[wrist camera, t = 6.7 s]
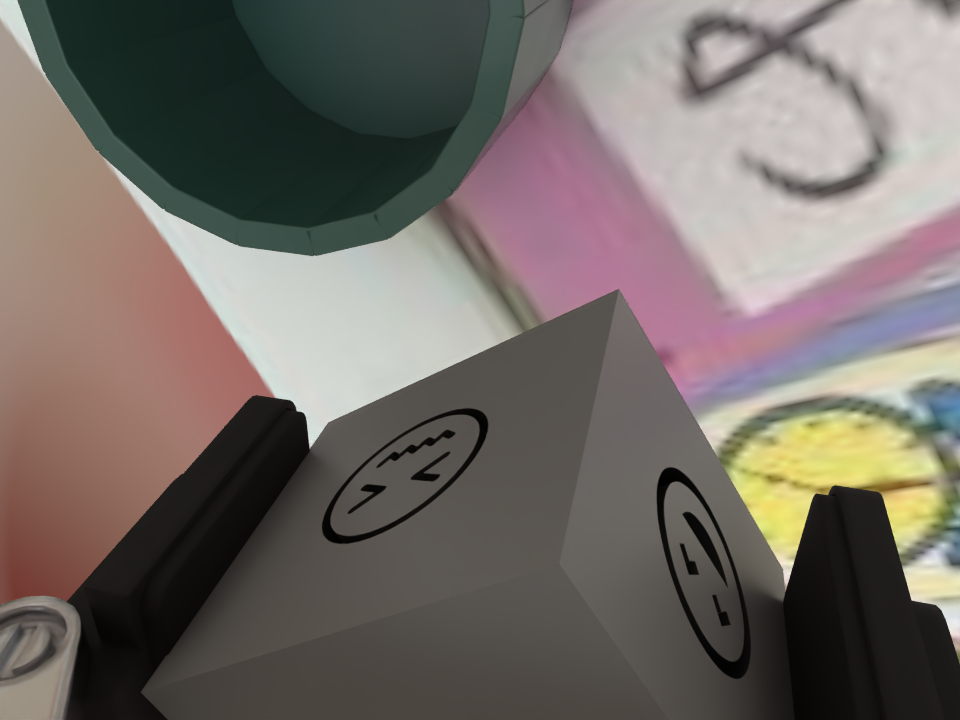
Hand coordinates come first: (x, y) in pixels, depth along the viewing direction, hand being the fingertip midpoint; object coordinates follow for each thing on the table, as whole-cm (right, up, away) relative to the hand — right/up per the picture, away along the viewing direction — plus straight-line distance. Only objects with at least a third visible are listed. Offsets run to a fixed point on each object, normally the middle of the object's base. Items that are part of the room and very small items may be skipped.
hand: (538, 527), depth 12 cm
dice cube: (0, 0, +1) cm, 1 cm away
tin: (-4, +15, +15) cm, 22 cm away
